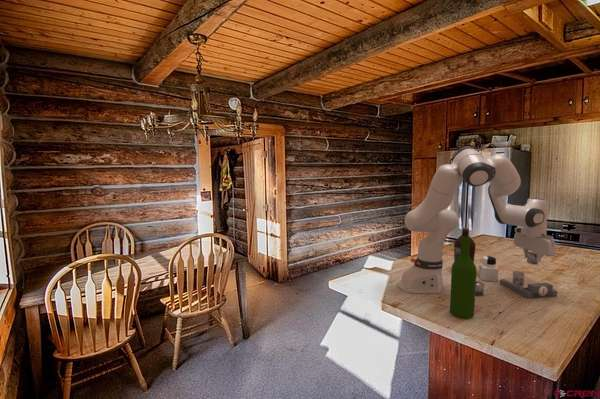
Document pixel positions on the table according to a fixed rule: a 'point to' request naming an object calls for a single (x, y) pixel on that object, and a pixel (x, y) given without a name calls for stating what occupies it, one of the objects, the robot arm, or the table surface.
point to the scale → (532, 289)
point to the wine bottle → (463, 283)
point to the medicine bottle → (488, 269)
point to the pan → (522, 286)
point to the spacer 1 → (479, 288)
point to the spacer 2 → (518, 277)
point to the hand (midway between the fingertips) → (532, 259)
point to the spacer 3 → (532, 258)
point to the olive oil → (458, 245)
